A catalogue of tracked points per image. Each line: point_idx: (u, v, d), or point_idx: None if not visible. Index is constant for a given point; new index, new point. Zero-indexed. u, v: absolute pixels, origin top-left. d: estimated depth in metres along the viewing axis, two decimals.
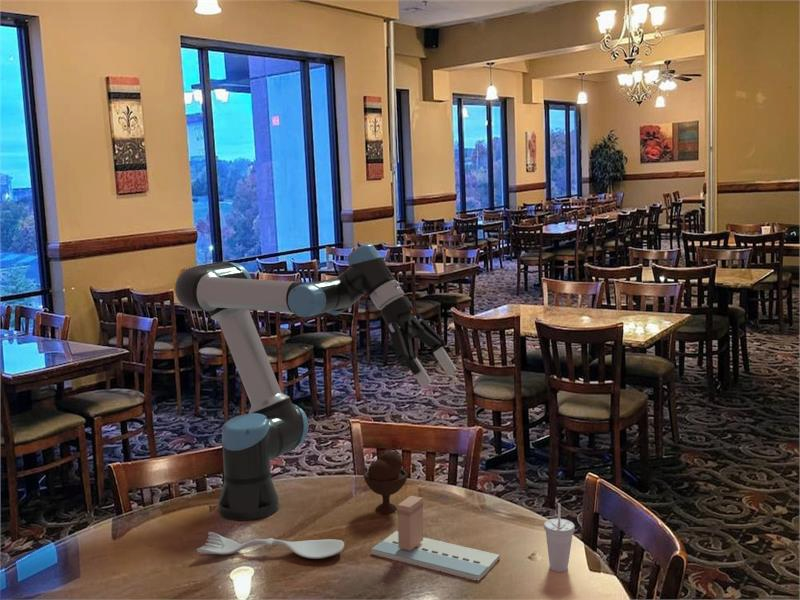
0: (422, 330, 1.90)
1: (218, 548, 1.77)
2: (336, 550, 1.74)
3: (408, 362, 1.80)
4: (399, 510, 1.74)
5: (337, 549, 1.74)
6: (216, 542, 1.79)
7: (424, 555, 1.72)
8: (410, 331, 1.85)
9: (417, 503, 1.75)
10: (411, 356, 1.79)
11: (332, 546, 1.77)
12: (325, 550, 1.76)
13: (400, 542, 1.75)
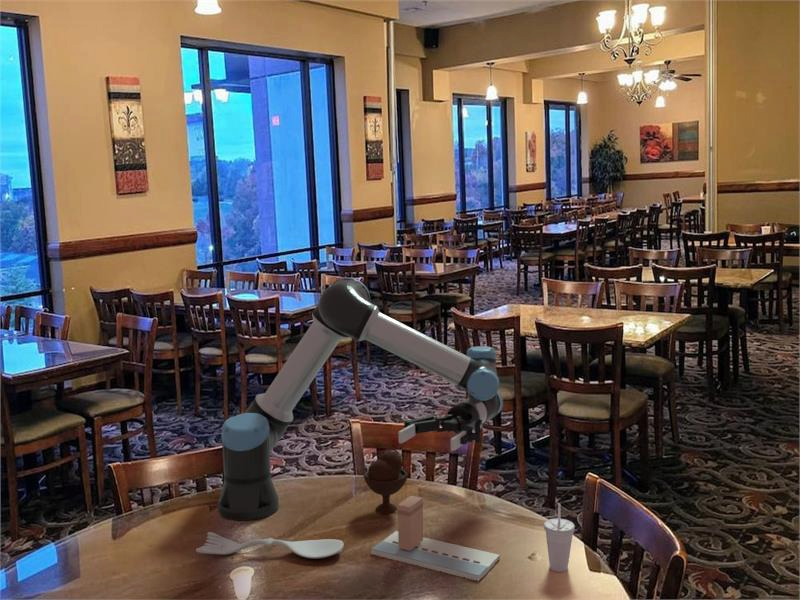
0: (439, 430, 1.93)
1: (217, 548, 1.77)
2: (336, 550, 1.74)
3: (471, 437, 1.82)
4: (399, 510, 1.74)
5: (337, 549, 1.74)
6: (215, 542, 1.79)
7: (424, 555, 1.72)
8: None
9: (417, 503, 1.75)
10: (471, 441, 1.83)
11: (332, 546, 1.77)
12: (324, 550, 1.76)
13: (400, 542, 1.75)
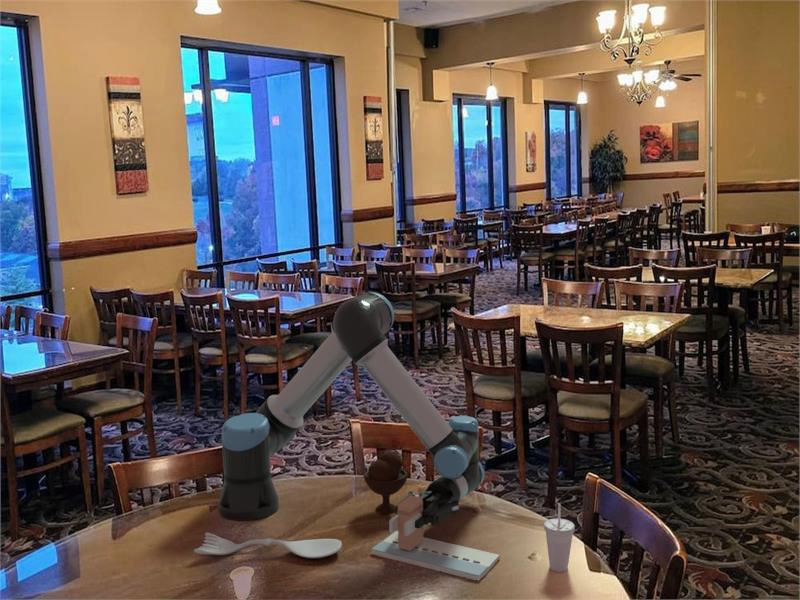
0: (423, 510, 1.84)
1: (215, 549, 1.76)
2: (334, 549, 1.74)
3: (426, 520, 1.75)
4: (399, 510, 1.74)
5: (335, 548, 1.74)
6: (213, 543, 1.79)
7: (424, 555, 1.72)
8: None
9: (417, 503, 1.75)
10: (426, 524, 1.76)
11: (330, 545, 1.77)
12: (323, 550, 1.76)
13: (400, 542, 1.75)
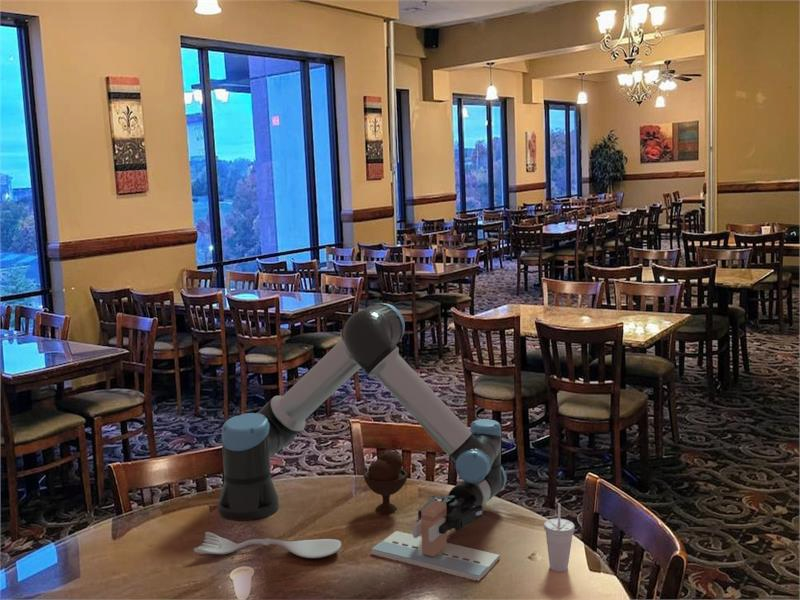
0: (446, 515, 1.81)
1: (215, 548, 1.77)
2: (333, 550, 1.74)
3: (450, 525, 1.72)
4: (423, 515, 1.71)
5: (334, 549, 1.74)
6: (213, 542, 1.79)
7: (424, 555, 1.72)
8: None
9: (441, 508, 1.73)
10: (450, 529, 1.73)
11: (330, 545, 1.77)
12: (322, 550, 1.76)
13: (424, 548, 1.72)
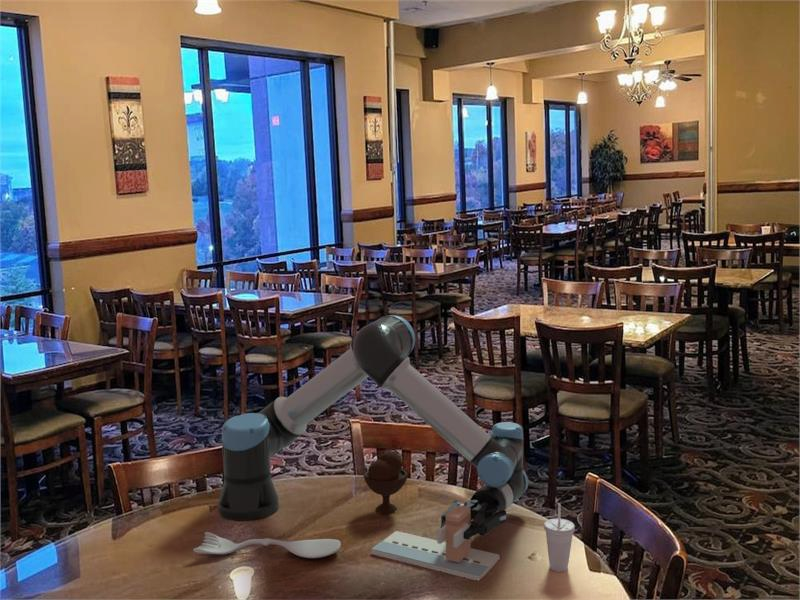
0: None
1: (215, 548, 1.77)
2: (333, 549, 1.74)
3: (474, 530, 1.70)
4: (447, 520, 1.68)
5: (334, 549, 1.74)
6: (213, 542, 1.79)
7: (424, 555, 1.72)
8: None
9: (465, 513, 1.70)
10: (474, 535, 1.70)
11: (329, 545, 1.77)
12: (322, 550, 1.76)
13: (448, 553, 1.69)
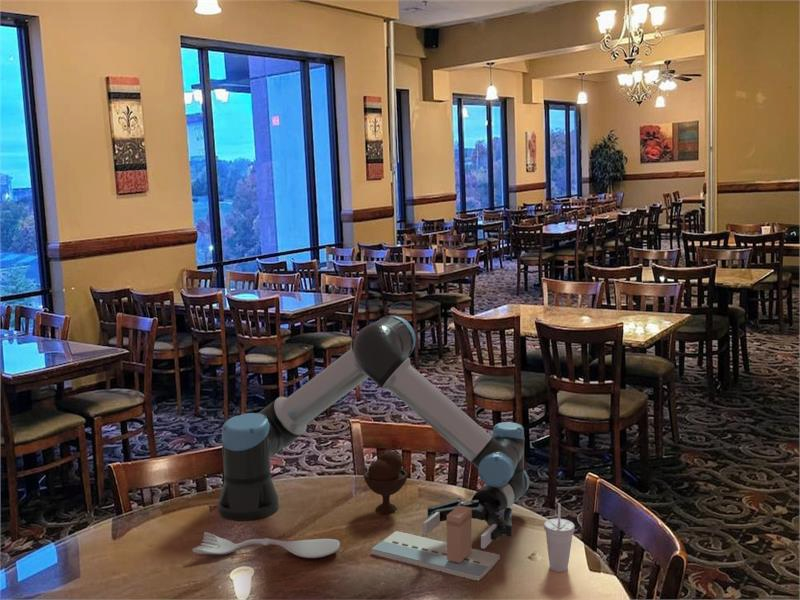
0: None
1: (214, 548, 1.77)
2: (332, 549, 1.74)
3: (501, 531, 1.69)
4: (448, 521, 1.68)
5: (333, 548, 1.74)
6: (212, 542, 1.79)
7: (424, 555, 1.72)
8: None
9: (466, 513, 1.70)
10: None
11: (328, 545, 1.77)
12: (321, 550, 1.76)
13: (449, 554, 1.69)
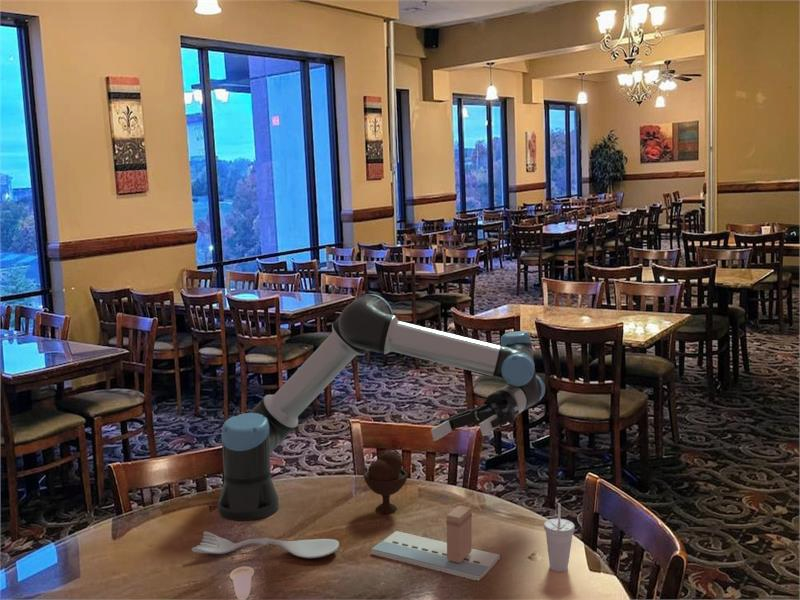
0: (476, 422, 1.88)
1: (213, 547, 1.77)
2: (331, 550, 1.74)
3: (502, 419, 1.77)
4: (448, 521, 1.68)
5: (332, 549, 1.74)
6: (211, 542, 1.79)
7: (424, 555, 1.72)
8: None
9: (466, 513, 1.70)
10: (504, 424, 1.78)
11: (327, 545, 1.77)
12: (320, 550, 1.76)
13: (449, 554, 1.69)
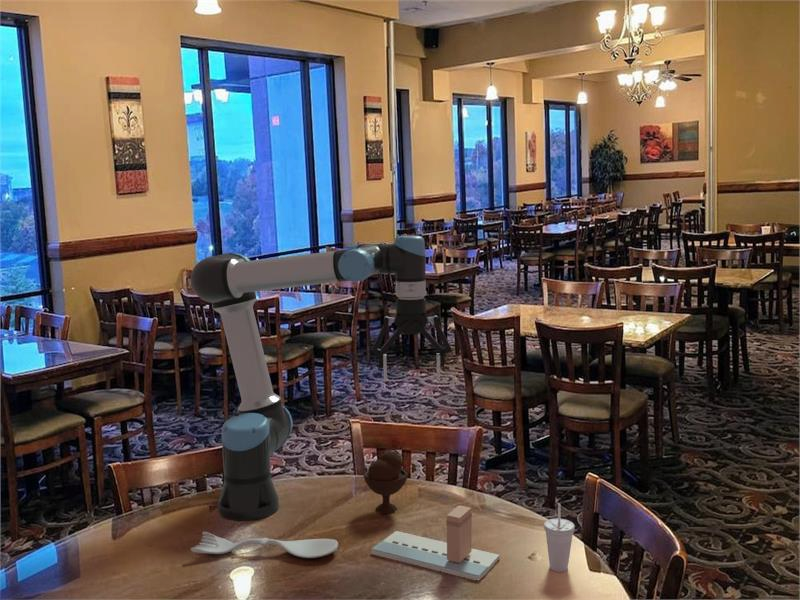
0: None
1: (212, 548, 1.77)
2: (330, 549, 1.74)
3: None
4: (448, 521, 1.68)
5: (331, 548, 1.75)
6: (210, 542, 1.80)
7: (424, 555, 1.72)
8: (399, 332, 1.99)
9: (466, 513, 1.70)
10: (379, 353, 2.00)
11: (326, 545, 1.77)
12: (319, 550, 1.76)
13: (449, 554, 1.69)
